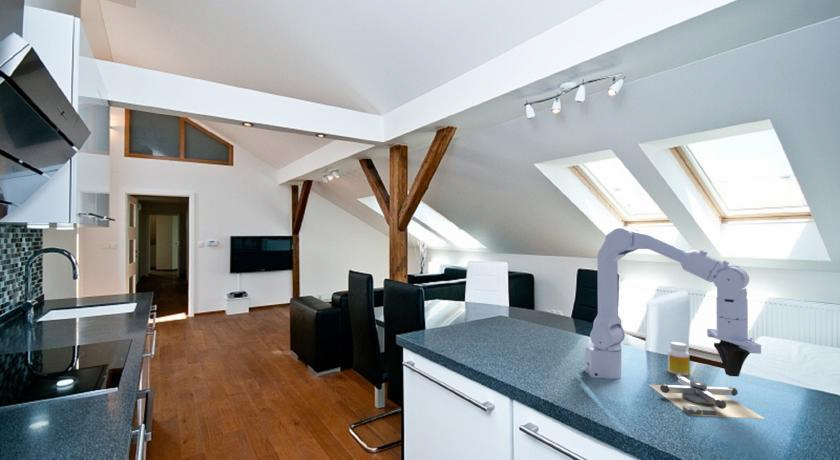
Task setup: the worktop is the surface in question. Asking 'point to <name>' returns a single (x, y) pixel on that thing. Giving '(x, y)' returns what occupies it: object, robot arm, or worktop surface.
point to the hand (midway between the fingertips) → (732, 375)
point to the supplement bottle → (678, 359)
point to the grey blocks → (699, 410)
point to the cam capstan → (699, 392)
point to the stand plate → (730, 411)
